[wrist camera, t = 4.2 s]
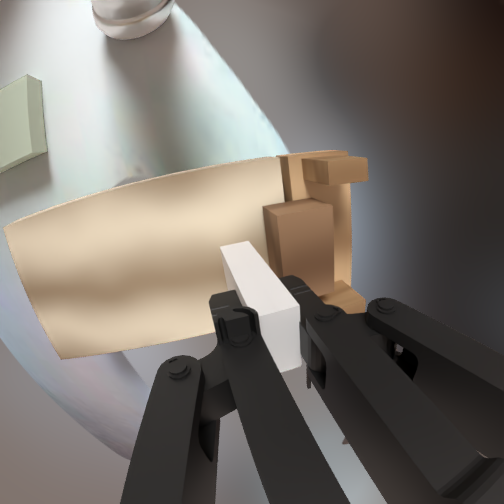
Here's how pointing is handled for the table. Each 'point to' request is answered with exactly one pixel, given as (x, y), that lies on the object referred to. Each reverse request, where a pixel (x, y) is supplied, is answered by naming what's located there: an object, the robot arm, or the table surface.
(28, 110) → the block
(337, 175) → the toolbox
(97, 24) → the plastic bottle
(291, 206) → the block
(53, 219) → the lid
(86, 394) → the table surface
